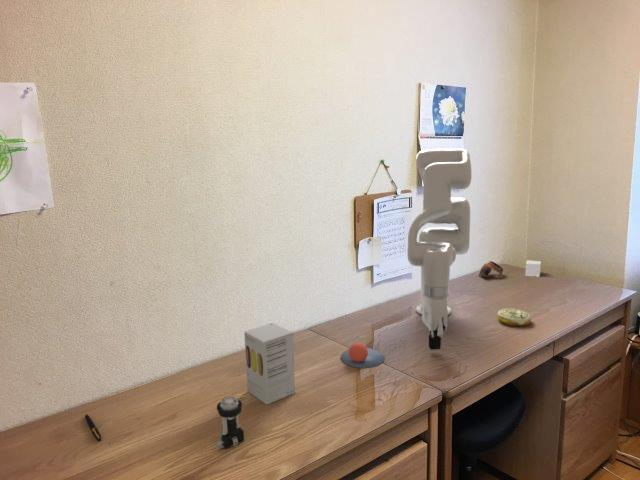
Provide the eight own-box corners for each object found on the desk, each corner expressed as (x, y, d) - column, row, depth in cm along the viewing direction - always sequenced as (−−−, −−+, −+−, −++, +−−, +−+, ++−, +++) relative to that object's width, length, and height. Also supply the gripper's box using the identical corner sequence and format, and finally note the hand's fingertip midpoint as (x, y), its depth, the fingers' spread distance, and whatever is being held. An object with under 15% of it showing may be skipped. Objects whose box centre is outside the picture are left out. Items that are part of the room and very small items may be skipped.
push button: (223, 456, 101) (219, 413, 99) (209, 445, 105) (206, 403, 103) (249, 442, 105) (246, 400, 103) (235, 432, 109) (232, 391, 107)
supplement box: (246, 391, 127) (242, 330, 124) (275, 379, 133) (272, 321, 129) (266, 405, 120) (263, 342, 116) (296, 392, 126) (294, 331, 122)
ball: (364, 339, 144) (362, 357, 145) (347, 339, 143) (344, 357, 144) (371, 347, 139) (369, 365, 140) (353, 347, 137) (351, 366, 138)
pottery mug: (481, 273, 229) (491, 259, 227) (498, 286, 224) (508, 271, 221) (471, 273, 220) (482, 258, 217) (488, 285, 214) (499, 270, 212)
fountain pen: (82, 416, 118) (81, 410, 118) (87, 414, 119) (87, 409, 118) (97, 444, 107) (97, 438, 106) (103, 442, 107) (102, 436, 107)
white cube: (540, 273, 225) (541, 261, 224) (539, 277, 220) (540, 264, 218) (526, 272, 228) (526, 260, 226) (525, 275, 222) (526, 263, 221)
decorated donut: (526, 330, 162) (527, 319, 161) (493, 324, 168) (494, 313, 167) (533, 320, 170) (533, 310, 169) (501, 314, 176) (502, 304, 175)
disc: (338, 349, 150) (337, 349, 150) (379, 347, 151) (379, 346, 151) (344, 369, 137) (344, 368, 137) (389, 366, 139) (389, 365, 138)
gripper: (416, 283, 149) (415, 339, 153) (431, 298, 135) (430, 360, 138) (439, 282, 150) (438, 337, 154) (457, 297, 135) (455, 358, 139)
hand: (434, 348), depth 146 cm, fingers closed
